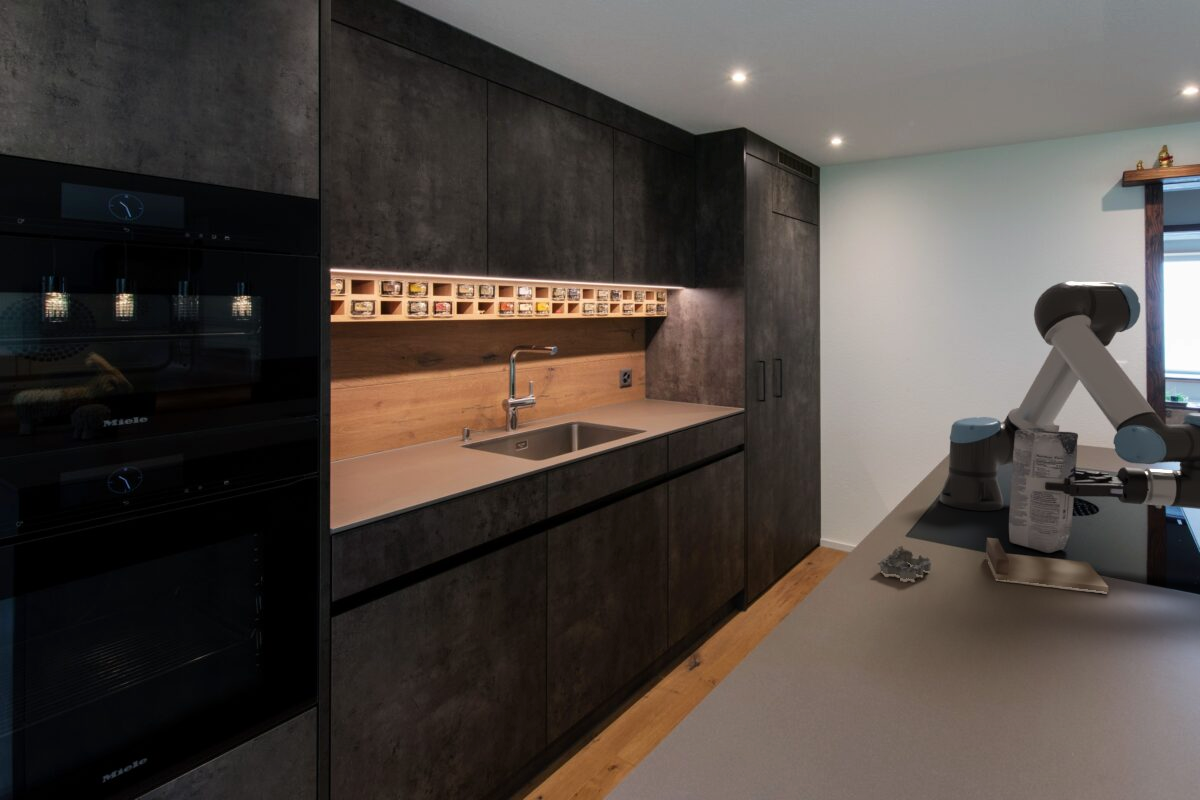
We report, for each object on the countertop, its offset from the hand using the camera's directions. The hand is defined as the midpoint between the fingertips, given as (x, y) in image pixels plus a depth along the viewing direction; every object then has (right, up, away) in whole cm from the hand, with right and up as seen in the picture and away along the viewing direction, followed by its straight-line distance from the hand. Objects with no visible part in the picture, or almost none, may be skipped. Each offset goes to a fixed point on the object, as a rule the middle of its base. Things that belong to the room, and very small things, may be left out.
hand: (1021, 477), depth 152 cm
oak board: (-6, -17, -16) cm, 24 cm away
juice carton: (+4, -15, 0) cm, 16 cm away
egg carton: (-32, -18, -14) cm, 39 cm away
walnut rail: (-13, -16, -13) cm, 24 cm away
